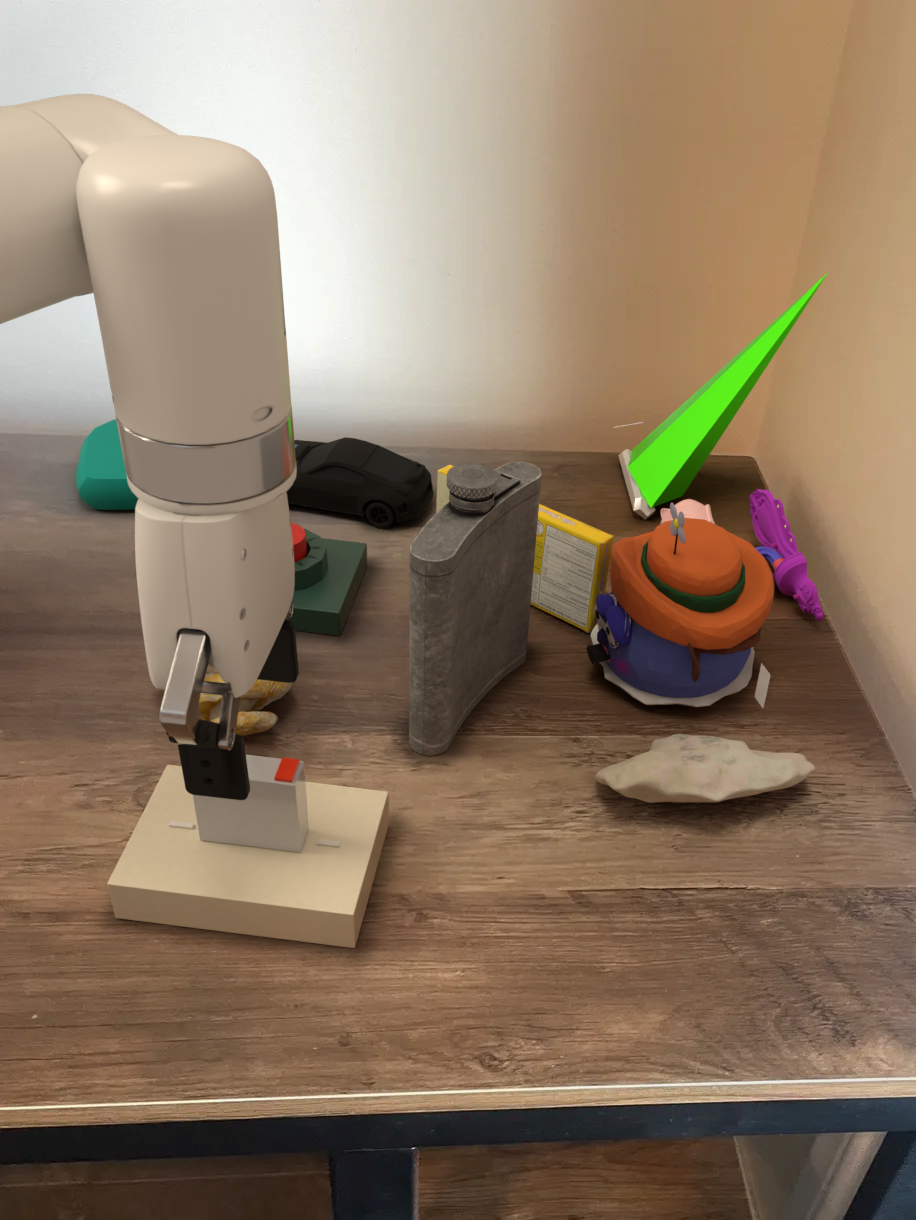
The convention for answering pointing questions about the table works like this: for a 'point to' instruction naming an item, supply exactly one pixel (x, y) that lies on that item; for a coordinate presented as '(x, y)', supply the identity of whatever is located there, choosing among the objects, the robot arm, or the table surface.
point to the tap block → (254, 869)
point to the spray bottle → (104, 471)
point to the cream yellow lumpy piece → (244, 704)
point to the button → (298, 542)
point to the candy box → (562, 563)
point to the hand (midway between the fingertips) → (246, 732)
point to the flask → (469, 596)
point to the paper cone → (700, 421)
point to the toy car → (360, 481)
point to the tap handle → (260, 808)
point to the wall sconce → (769, 545)
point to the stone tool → (703, 771)
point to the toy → (683, 614)
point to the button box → (327, 583)
